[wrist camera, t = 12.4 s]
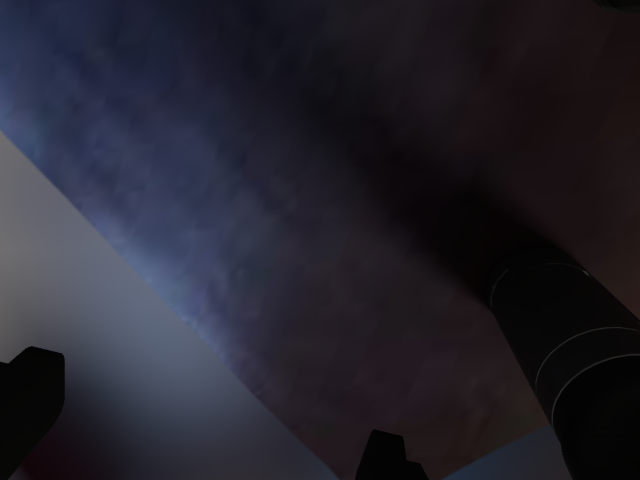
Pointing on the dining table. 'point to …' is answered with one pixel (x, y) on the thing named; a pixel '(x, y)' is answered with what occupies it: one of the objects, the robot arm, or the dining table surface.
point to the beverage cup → (620, 5)
